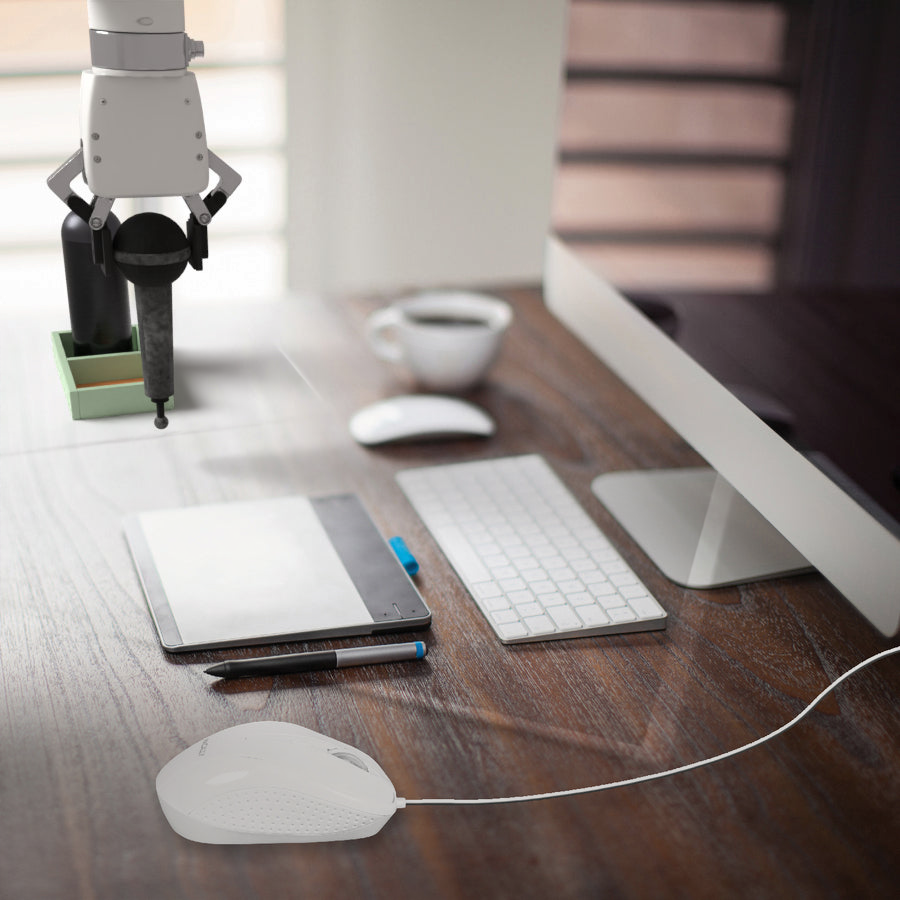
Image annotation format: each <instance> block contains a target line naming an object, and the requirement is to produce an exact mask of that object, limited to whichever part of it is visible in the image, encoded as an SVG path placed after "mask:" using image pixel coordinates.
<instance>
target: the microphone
mask: <svg viewBox="0 0 900 900" xmlns="http://www.w3.org/2000/svg"><path fill="white" fill-rule="evenodd" d="M112 251H113V260H114V262H115V265H116V267H117V269H118V270H119V272H120V273H121V274H122V275H123V276H124V277H125V278H126V279H127V280H128V282H130V283H131V284H133V290H134V299H135V309H136V319H137V324H138V330H139V340H140V350H141V360H142V370H143V380H144V390H145V395H146V396H147V397H149V398H151V402H153V403H156V408H157V411H156V417H155V418H154V420H153V424H154V427H155V428H156V429H158V430H165V429H166V428H168V426H169V423H170V422H169V421H170V420H169V418H168V417H167V416H166V413H165V412H166V410H165V409H164V403H165V402H168V401H169V397H171V396H172V395H173V396H174V395H175V369H174V368H175V367H174V365H175V363H174V318H173V317H174V314H173V283H174V282H176V281H177V280H178V279H180V277H181V276H183V273H184V272H185V271H186V268H187V267H188V264H189V262H188V260H189V257H190V255H191V251H192V250H191V247H190V245H189V243H188V240H187V234H186V233H185V232H184V230H183V228H182V227H181V226H180V225H179V224H178V223H177V222H176V221H175V220H174V219H173V218H171V217H169V216H167V215H165V214H163V213H158V212H153V211H145V212H139V213H136V214H133V215H131V216H130V217H128V218H126V220H124V221H123V222H121V225H120V226H119V228H118V229H117V231H116V233H115V235H114V238H113V242H112Z"/></svg>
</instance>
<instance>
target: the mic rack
mask: <svg viewBox="0 0 900 900" xmlns="http://www.w3.org/2000/svg"><path fill="white" fill-rule="evenodd" d="M131 326H132V338H133V350H134V352H124V353H114V354H103V355H93V356H82V357H74V351H73V342H72V332H71V329H68V330H58V331H57V330H56V331H51V332H50V337H51V344H52V354H53V359H55V360H54V364H55V366H56V369H57V373H58V376H59V379H60V384H61V386H62V390H63V393H64V396H65V400H66V403H67V407H68V410H69V413H70V417H71V420H72V421H79V420H87V419H97V418H105V417H115V416H123V415H132V414H138V413H139V414H141V413H149V412H157V408H156V403H153V402H151V398H149V397H147V396H146V395H145V390H144V380H143V370H142V360H141V350H140V340H139V330H138V323H135V324H131ZM164 409H165V411H167V410H173V409H175V398H174V395H172V396H171V397H169V401H168V402H165V403H164Z"/></svg>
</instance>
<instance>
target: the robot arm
mask: <svg viewBox="0 0 900 900" xmlns="http://www.w3.org/2000/svg"><path fill="white" fill-rule="evenodd" d="M86 7H87V9H86V10H87V21H88V28H89V29H88V35H89V49H90V62H91V69H84V70H82V71H81V77H80V83H79V85H80V86H79V99H78V100H79V101H78V103H79V104H78V109H79V110H78V129H79V130H78V131H79V132H78V133H79V149H77V150H76V151H75V152H74V153H73V154H72V155H71V156H69V157H68V158H67V160H65V161H64V162H63V163H62V164H61V165H59V167H58V168H56V170H55V171H53V172H52V173H51V174H50V175H49V176H48V177H47V178H46V185H47V187H48V188H49V190H50V191H51V192H52V193H53V194H54V195H55V196H56V197H57V198H59V200H60V201H62V202H63V203H64V204H65V205H66V207H68V208H69V210H70V211H73V212H74V213H75V214H77V215H78V216H79V217H80V218H81V219H82V220H84V221H85V222H86V223H87V224H88V225H89V226H90V228H91V240H92V253H93V261H94V264H95V265H98V264H101V268H102V271H103V272H104V274H105V276H112V274H114V265H113V251H112V238H111V230H110V229H109V227H108V226H107V221H106V219H107V217H108V214H109V212H110V211H112V210H111V209H112V207H113V205H114V203H115V201H116V199H141V198H142V199H145V198H170V197H173V198H174V197H181V198H182V199H183V201H184V203H185V205H186V207H187V209H188V210H189V212H190V213H189V214H188V215H189V218H187V220H186V222H185V225H186V237H187V240H188V243H189V245H190V247H191V250H192V251H191V255H190V257H189V260H188V264H189V265H190V266H191V268H192V269H193V270H195V271H196V272H203V270H204V260H205V259H206V260H207V259H209V234H208V232H209V231H208V225H209V224H210V223H211V222H212V220H213V217H215V216H216V214H217V213H218V212H219V211H220V210H221V209H222V208H223V207H224V206H225V205H226V203H227V202H228V199H229V198H230V197H231V196H232V195H233V194H234V192H235V191H236V190H237V188H238V187H239V186H240V185H241V184H242V181H243V178H242V176H241V174H240V173H238V172H237V171H236V170H235V169H234V168H232V167H231V166H230V165H229V164H228V163H226V162H225V161H224V160H223V159H222V158H220V157H219V156H218V155H216V153H214V152H213V151H212V150H210V148H208V141H207V134H206V125H205V117H204V111H203V103H202V99H201V98H202V97H201V93H200V90H199V83H198V81H197V77H196V74H195V72H194V71H190V70H188V68H189V67H190V62H191V61H192V60H195V59H196V58H204V57H205V44H204V41H203V40H195V39H194V38H190V36H188V33H187V32H186V20H185V19H186V18H185V0H86ZM210 170H212V172H214V173H215V174H216V175H217V176H218V178H219V180H218V182H217V184H216V185H215V187H214V188H213V189H211V190H210V191H209V192H208V193H207V195H205V197H204V198H203V199H202V196H201V195H200V194H202V193H203V192H204V191H206V190H207V188H208V187H209V183H210ZM80 174H81V177H82V180H83V183H84V184H85V185H87V186H88V189H89V191H90V193H92V194H93V195H92V198H91V200H90V202H89V203H88V202H87V201H86V200H85V199H84V198H83V197H81V196H80V195H79V194H78V193H76V191H75V190H74V189H73V188H72V187H71V182H72V181H73V180H74V179H75V178H76V177H78V176H79V175H80Z"/></svg>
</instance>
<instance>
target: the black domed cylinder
mask: <svg viewBox="0 0 900 900" xmlns="http://www.w3.org/2000/svg"><path fill="white" fill-rule="evenodd" d="M106 221H107V226H108V227H109V229H110V230H111V238H112V242H113V238H114V235H115V233H116V231H117V229H118V228H119V226H120V225H121V224H122V222H121V220H120V219H119V217H118V216H117V215H116V214H115V213H114V212H113V211H112V210H110V212H109V214H108V217H107V219H106ZM60 228H61V229H60V238H61V247H62V258H63V266H64V275H65V284H66V294H67V303H68V312H69V313H68V314H69V323H70V330H71V332H72V342H73V351H74V357H82V356H93V355H103V354H114V353H124V352H134V350H133V338H132V326H131V325H132V316H131V315H132V314H131V303H130V291H129V281H128V280H127V279H126V278H125V277H124V276H123V275H122V274H121V273H120V272H119V270H118V269H117V267H116V265H115V262H114V260H113V265H114V274H112V276H105V274H104V272H103V271H102V268H101V264H98V265H95V264H94V261H93V253H92V240H91V228H90V226H89V225H88V224H87V223H86V222H85V221H84V220H82V219H81V218H80V217H79V216H78V215H77V214H75V213H74V212H73V211H72V210H70V211H69V212H68V213H67V215H66V216H65V217H64V219H63V221H62V224H61V227H60Z"/></svg>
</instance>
